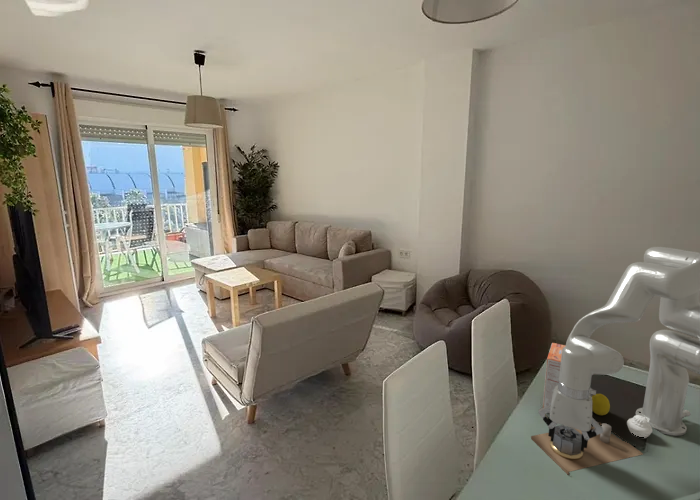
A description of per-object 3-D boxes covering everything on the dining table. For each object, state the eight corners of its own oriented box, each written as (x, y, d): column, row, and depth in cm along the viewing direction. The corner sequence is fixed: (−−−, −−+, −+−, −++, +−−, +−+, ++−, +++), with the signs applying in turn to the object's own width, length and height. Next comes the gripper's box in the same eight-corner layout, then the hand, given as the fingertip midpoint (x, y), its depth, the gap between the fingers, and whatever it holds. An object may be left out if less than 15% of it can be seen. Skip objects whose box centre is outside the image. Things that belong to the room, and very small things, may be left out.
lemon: (611, 421, 116) (614, 399, 115) (592, 419, 117) (595, 398, 116) (603, 410, 122) (606, 390, 120) (585, 409, 123) (588, 388, 121)
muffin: (656, 443, 106) (659, 423, 105) (635, 443, 107) (638, 422, 105) (640, 429, 112) (643, 410, 111) (620, 428, 113) (623, 409, 111)
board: (599, 424, 115) (601, 408, 114) (643, 457, 101) (646, 438, 100) (531, 438, 109) (532, 421, 108) (567, 474, 96) (570, 455, 94)
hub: (566, 436, 108) (568, 419, 107) (590, 457, 100) (592, 438, 99) (543, 441, 107) (544, 423, 105) (565, 462, 99) (567, 443, 97)
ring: (553, 434, 108) (554, 422, 107) (580, 442, 104) (582, 430, 103) (552, 448, 102) (553, 436, 101) (580, 458, 98) (582, 445, 98)
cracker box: (546, 393, 132) (551, 341, 128) (564, 398, 129) (571, 345, 124) (540, 413, 121) (546, 357, 117) (560, 419, 117) (567, 362, 113)
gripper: (610, 391, 98) (601, 446, 102) (539, 374, 107) (534, 425, 111) (612, 405, 92) (603, 464, 95) (537, 386, 101) (532, 440, 105)
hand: (566, 443), depth 103 cm, fingers closed on ring, 6 cm apart
